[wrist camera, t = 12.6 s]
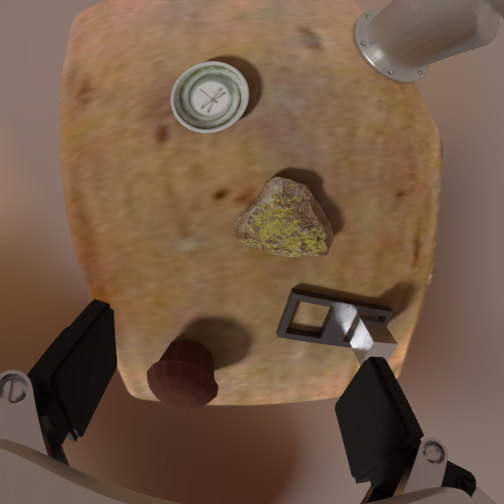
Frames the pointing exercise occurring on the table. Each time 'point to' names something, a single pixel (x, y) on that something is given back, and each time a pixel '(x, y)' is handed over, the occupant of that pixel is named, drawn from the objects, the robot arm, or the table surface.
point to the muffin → (184, 376)
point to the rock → (285, 221)
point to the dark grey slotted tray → (328, 318)
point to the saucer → (210, 97)
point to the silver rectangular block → (370, 337)
